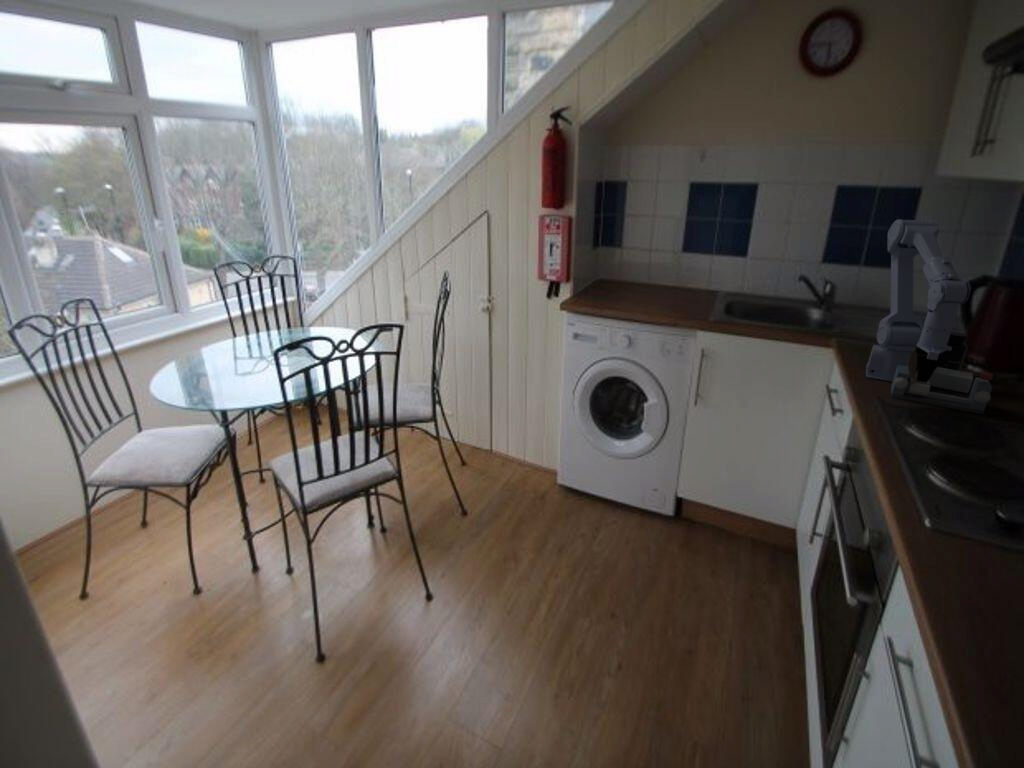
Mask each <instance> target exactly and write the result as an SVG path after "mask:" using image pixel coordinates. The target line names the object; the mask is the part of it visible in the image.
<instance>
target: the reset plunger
mask: <svg viewBox="0 0 1024 768" xmlns="http://www.w3.org/2000/svg"><path fill="white" fill-rule="evenodd" d="M993 377H994V374H992V373H990V372H987V371H986V372H985V371H982V372H980V373H979V377H978V378H981V379H984V380H988V381H992V380H993Z"/></svg>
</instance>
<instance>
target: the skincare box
mask: <svg viewBox="0 0 1024 768" xmlns="http://www.w3.org/2000/svg"><path fill="white" fill-rule="evenodd" d="M928 381H929V383H930V387H935V388H938V389H944V390H949V391H955V392H959V393H964V394H968V393H969V392H970V391H971V388H972V385H973V384H972V383H973V382H974V373H973V372H967V371H961V370H960V371H957V370H951V369H945V368H940V367H937V368H936V369H935V371H934V372H933V374H932V375H931V377H930V379H929V380H928ZM969 394H970V393H969Z"/></svg>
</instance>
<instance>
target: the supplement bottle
mask: <svg viewBox="0 0 1024 768" xmlns="http://www.w3.org/2000/svg"><path fill="white" fill-rule="evenodd" d="M967 338H968V335H967V334H966V333H962V332H956V331H951V334H950V337H949V340H948V343H947V346H950V347H952V350H951V351H948V350H946V351H944V352H942V354H941V355H940V356H939V357H940V358H944V361H943V362H942V363H941V364H940V365H939V366H938V367H940V368H945V369H951V370H957V371H961V368H962V365H963V362H964V359H965V357H966V353H967V352H968V345H967V344H965V343H966V341H967Z"/></svg>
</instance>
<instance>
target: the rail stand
mask: <svg viewBox="0 0 1024 768" xmlns="http://www.w3.org/2000/svg"><path fill="white" fill-rule="evenodd" d="M909 378H910V370H909V366H901V365H897V369H896V372H895V375H894V379H893V382H892V381H891V385H890V397H891V398H893V399H899V400H905V401H908V402H909V401H910V402H914V403H915V402H916V403H920V404H921V403H922V404H924V405H925V404H926V405H932V406H936V407H937V406H938V407H943V408H948V409H954V410H958V411H959V410H960V411H964V412H968V413H969V412H970V413H975V414H981V415H984V413H985V410H986V406H987V404H988V402H989V401H990V400H991V397H992V396H991V392H992V390H993V386H992V385H991V383H990V380H984V379H981V378H979V377H975V378H974V380H973V384H972V385H971V388H970V391H969V392H970V393H969V394H968V397H963V396H957V395H951V394H945V393H940V392H934V391H929V393H928V394H927V396H922V395H917V394H911V393H908V391H909V388H908V386H909V381H908V380H909Z"/></svg>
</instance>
